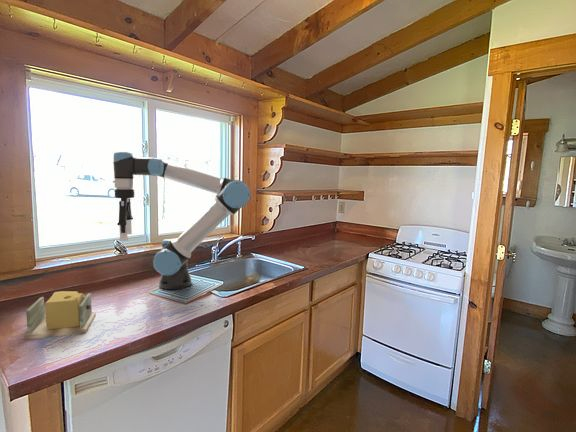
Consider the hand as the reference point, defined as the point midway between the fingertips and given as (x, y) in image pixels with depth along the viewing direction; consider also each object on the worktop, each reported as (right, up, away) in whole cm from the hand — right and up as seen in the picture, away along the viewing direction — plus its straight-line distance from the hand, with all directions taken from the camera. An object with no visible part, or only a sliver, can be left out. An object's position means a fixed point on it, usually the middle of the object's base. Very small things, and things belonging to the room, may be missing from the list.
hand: (126, 237), depth 143 cm
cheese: (-8, -29, -26) cm, 40 cm away
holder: (-10, -30, -27) cm, 41 cm away
